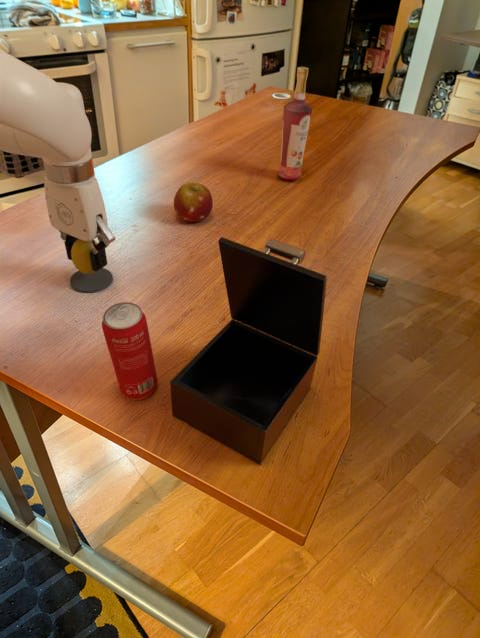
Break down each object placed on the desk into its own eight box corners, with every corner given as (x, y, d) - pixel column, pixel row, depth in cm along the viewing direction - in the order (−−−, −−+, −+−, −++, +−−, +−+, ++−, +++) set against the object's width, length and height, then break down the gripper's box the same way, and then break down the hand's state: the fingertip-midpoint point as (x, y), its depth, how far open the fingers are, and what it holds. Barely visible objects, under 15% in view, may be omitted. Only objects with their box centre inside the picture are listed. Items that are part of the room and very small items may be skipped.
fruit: (206, 230, 106) (206, 198, 101) (168, 224, 107) (167, 192, 102) (216, 211, 113) (217, 180, 108) (181, 206, 114) (180, 175, 109)
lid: (324, 280, 53) (342, 251, 55) (217, 240, 58) (239, 216, 60) (317, 356, 66) (332, 330, 68) (231, 318, 71) (247, 295, 74)
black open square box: (260, 465, 61) (265, 432, 56) (172, 415, 66) (169, 381, 61) (310, 389, 71) (317, 356, 66) (230, 351, 76) (232, 318, 72)
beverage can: (164, 380, 71) (158, 305, 61) (140, 410, 66) (129, 334, 57) (132, 367, 73) (121, 291, 63) (107, 395, 68) (90, 319, 58)
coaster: (91, 298, 85) (91, 296, 85) (61, 283, 88) (60, 281, 88) (121, 277, 90) (121, 275, 90) (91, 264, 93) (91, 262, 93)
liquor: (288, 185, 126) (303, 73, 108) (271, 176, 131) (281, 66, 112) (307, 179, 130) (324, 69, 112) (289, 170, 134) (303, 63, 116)
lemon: (70, 280, 86) (62, 243, 81) (83, 264, 90) (75, 228, 85) (98, 284, 86) (92, 247, 81) (109, 267, 90) (104, 231, 85)
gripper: (14, 162, 75) (40, 256, 87) (91, 191, 69) (107, 288, 81) (51, 149, 80) (70, 239, 92) (125, 174, 74) (136, 268, 86)
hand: (87, 261), depth 86 cm, fingers closed on lemon, 5 cm apart
